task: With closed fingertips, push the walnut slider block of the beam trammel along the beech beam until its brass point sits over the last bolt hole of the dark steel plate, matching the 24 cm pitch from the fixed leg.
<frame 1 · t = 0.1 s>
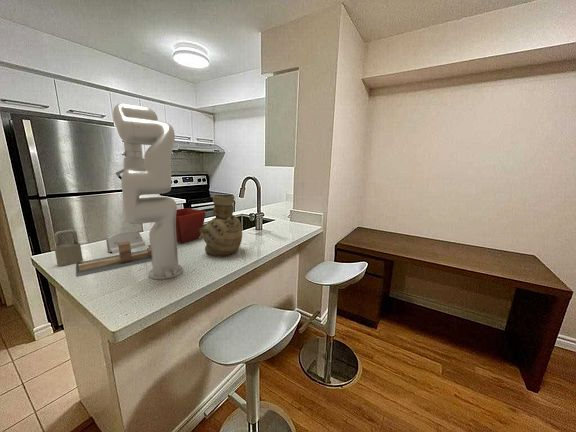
hand: (137, 188, 126), 31 cm above the worktop, fingers open, 9 cm apart
plant pot: (184, 239, 144), on the worktop
padlock: (70, 263, 107), on the worktop
hinge: (126, 248, 127), on the worktop
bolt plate: (122, 261, 109), on the worktop
slider leg: (124, 250, 108), point 5 cm above the worktop, slide at 0.0 cm
ceramic vessel: (223, 253, 123), on the worktop
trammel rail: (123, 263, 107), resting on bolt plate
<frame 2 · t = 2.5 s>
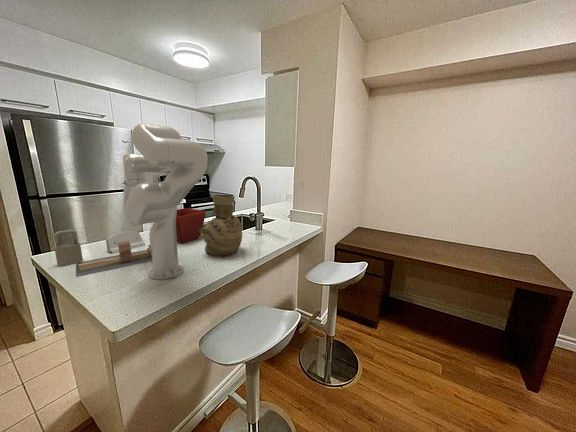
hand: (139, 223, 109), 17 cm above the worktop, fingers closed
nothing on the worktop moved.
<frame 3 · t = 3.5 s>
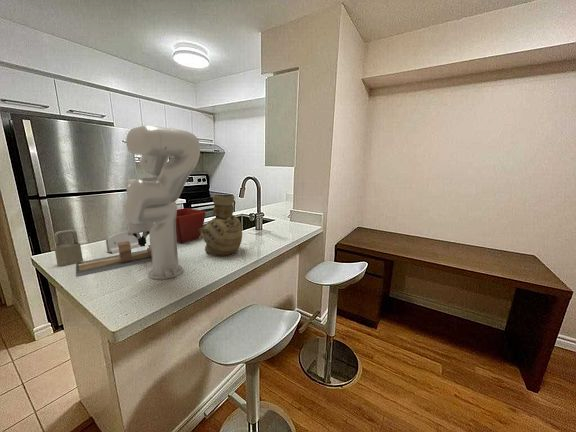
hand: (142, 245, 111), 7 cm above the worktop, fingers closed
nothing on the worktop moved.
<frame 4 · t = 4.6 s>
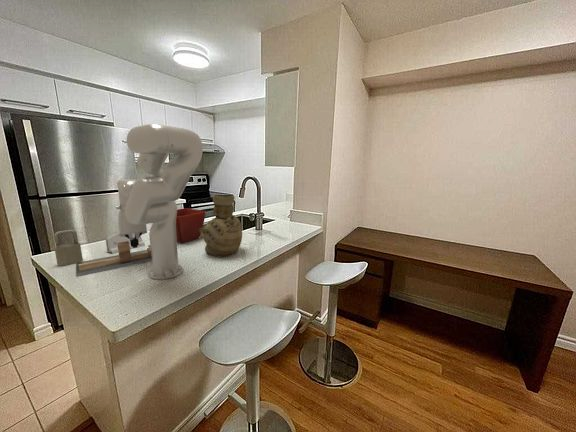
hand: (135, 247, 109), 7 cm above the worktop, fingers closed
slider leg: (123, 250, 108), point 5 cm above the worktop, slide at 0.2 cm, touching gripper
everything else where it was.
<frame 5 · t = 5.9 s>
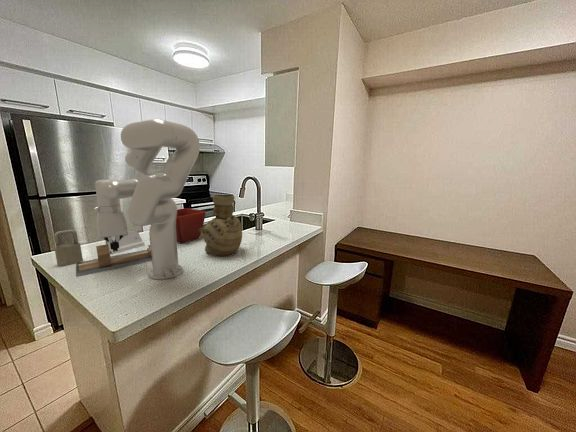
hand: (115, 250, 104), 7 cm above the worktop, fingers closed
slider leg: (103, 253, 104), point 5 cm above the worktop, slide at 7.6 cm, touching gripper
everything else where it was.
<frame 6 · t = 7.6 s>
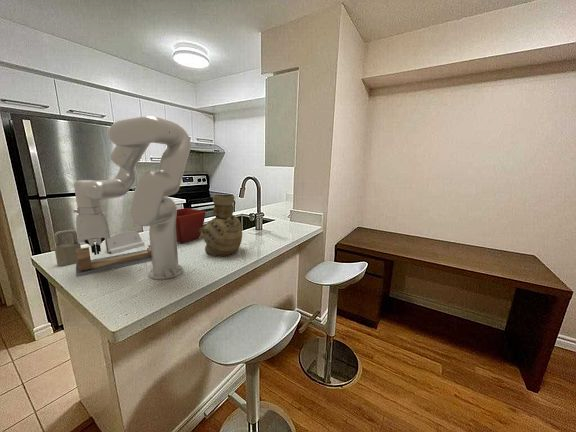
hand: (96, 253, 100), 7 cm above the worktop, fingers closed
slider leg: (84, 257, 99), point 5 cm above the worktop, slide at 14.0 cm, touching gripper
everything else where it was.
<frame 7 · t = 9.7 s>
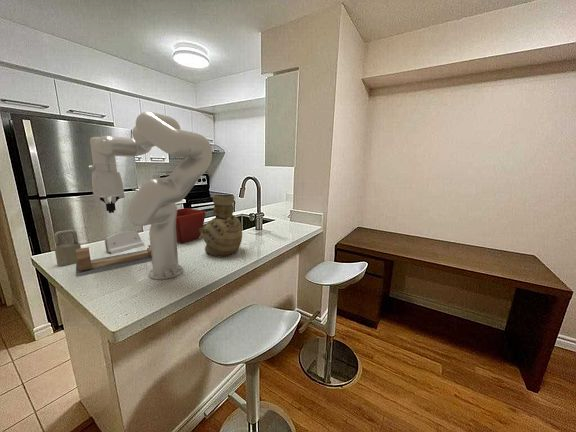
hand: (111, 212, 102), 23 cm above the worktop, fingers closed
slider leg: (83, 257, 99), point 5 cm above the worktop, slide at 14.0 cm
everything else where it was.
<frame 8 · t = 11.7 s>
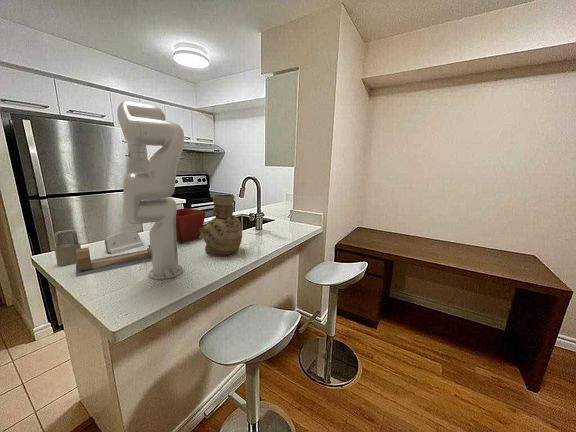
hand: (142, 194, 118), 29 cm above the worktop, fingers closed
nothing on the worktop moved.
at the end: slider leg slide at 14.0 cm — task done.
